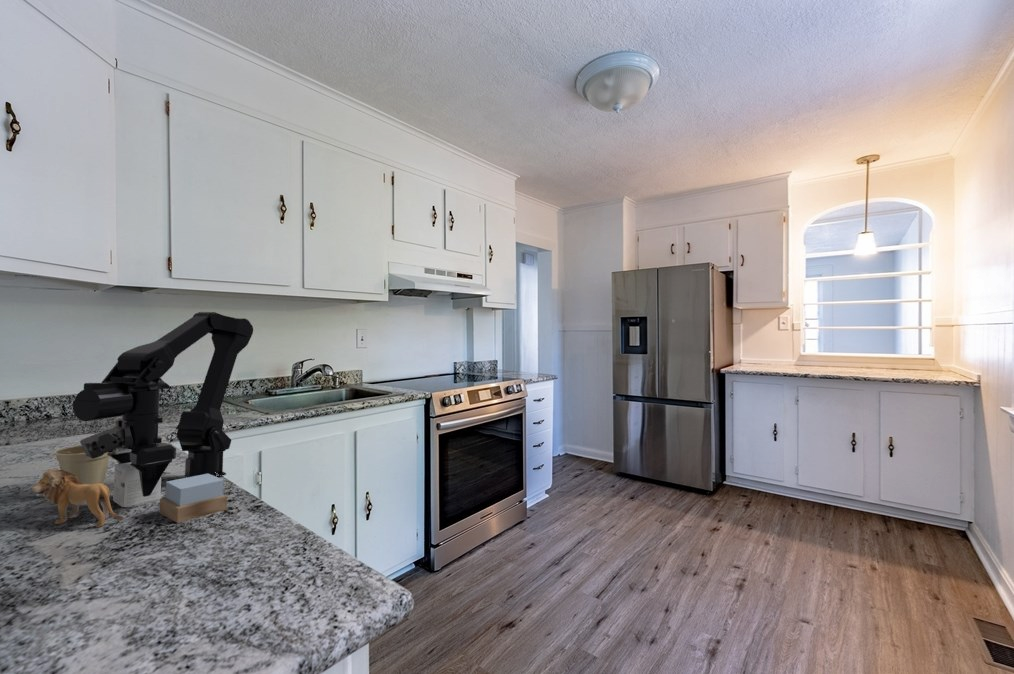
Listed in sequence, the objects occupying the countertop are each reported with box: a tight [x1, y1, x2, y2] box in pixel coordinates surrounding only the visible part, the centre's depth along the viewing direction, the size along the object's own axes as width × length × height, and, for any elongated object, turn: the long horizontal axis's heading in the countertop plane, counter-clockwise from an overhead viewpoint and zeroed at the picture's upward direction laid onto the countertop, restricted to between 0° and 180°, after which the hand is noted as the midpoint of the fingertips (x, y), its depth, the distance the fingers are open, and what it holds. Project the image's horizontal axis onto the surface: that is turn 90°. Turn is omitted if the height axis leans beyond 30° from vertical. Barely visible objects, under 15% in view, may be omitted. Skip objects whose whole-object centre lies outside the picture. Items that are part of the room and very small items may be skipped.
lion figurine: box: [31, 468, 125, 528], centre depth 77 cm, size 15×5×9 cm, turn 91°
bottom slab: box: [159, 493, 228, 524], centre depth 83 cm, size 8×8×3 cm
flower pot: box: [53, 444, 112, 485], centre depth 94 cm, size 9×9×9 cm
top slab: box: [164, 474, 225, 506], centre depth 83 cm, size 7×7×3 cm
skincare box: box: [112, 462, 162, 508], centre depth 88 cm, size 6×6×7 cm
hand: (137, 491), depth 88 cm, fingers open, 9 cm apart
